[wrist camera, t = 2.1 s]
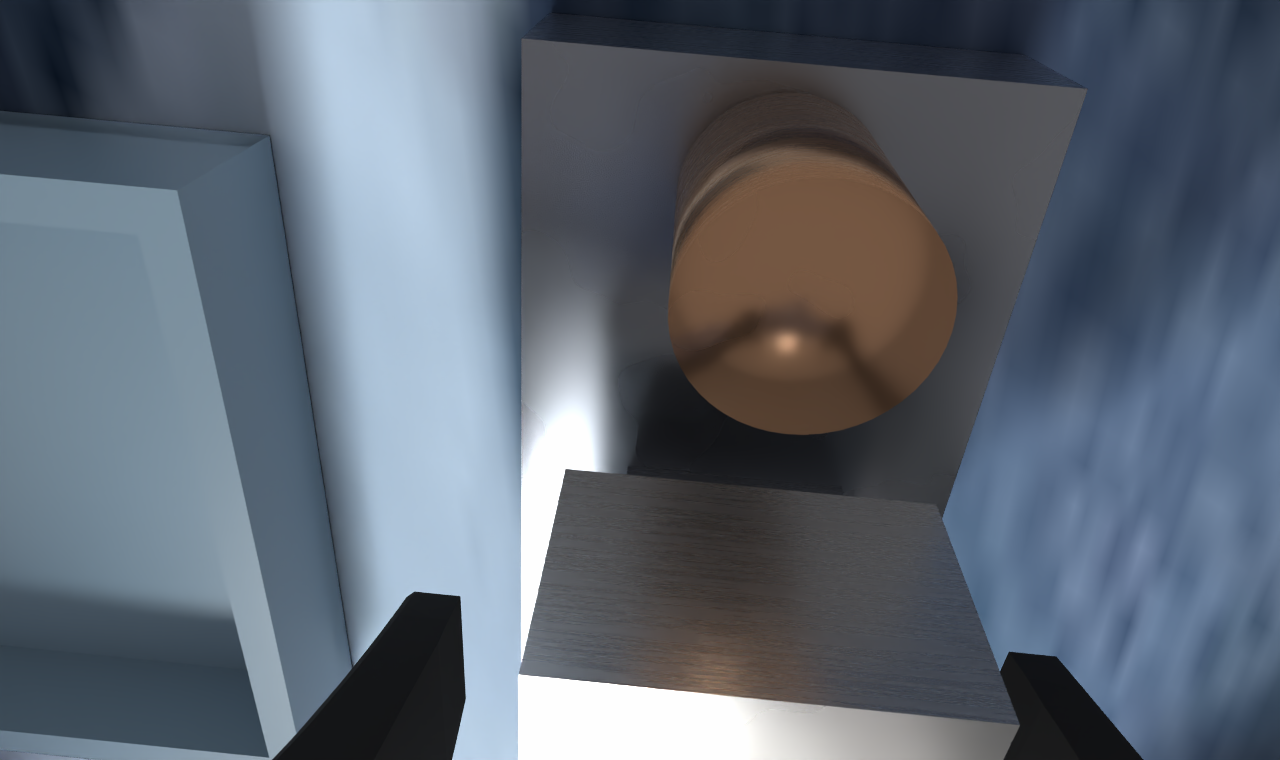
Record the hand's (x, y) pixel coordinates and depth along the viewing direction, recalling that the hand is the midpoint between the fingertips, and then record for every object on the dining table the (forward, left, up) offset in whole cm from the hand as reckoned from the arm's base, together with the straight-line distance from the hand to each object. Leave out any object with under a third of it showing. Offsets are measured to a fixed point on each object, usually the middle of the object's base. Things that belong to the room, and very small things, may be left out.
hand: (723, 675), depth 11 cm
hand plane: (0, 0, -4) cm, 4 cm away
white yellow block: (0, 0, 0) cm, 0 cm away
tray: (0, +12, -4) cm, 13 cm away
